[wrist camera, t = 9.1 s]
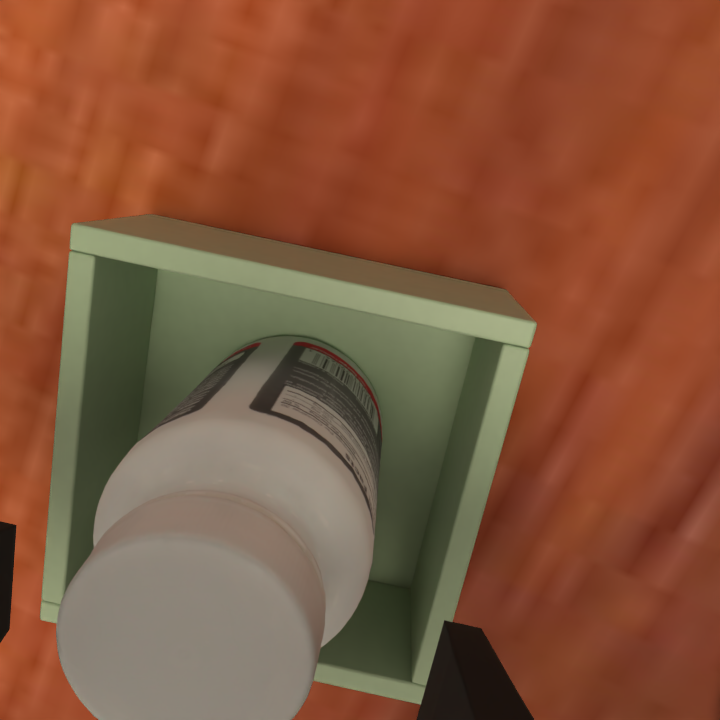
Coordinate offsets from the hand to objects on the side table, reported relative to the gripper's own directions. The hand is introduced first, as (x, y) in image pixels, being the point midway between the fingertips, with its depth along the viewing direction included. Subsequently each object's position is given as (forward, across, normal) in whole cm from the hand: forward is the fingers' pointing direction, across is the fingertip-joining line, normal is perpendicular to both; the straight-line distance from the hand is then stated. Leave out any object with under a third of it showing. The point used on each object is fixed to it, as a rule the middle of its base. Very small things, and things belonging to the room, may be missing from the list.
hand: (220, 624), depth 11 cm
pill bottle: (+9, 0, 0) cm, 9 cm away
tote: (+9, 0, 0) cm, 9 cm away
